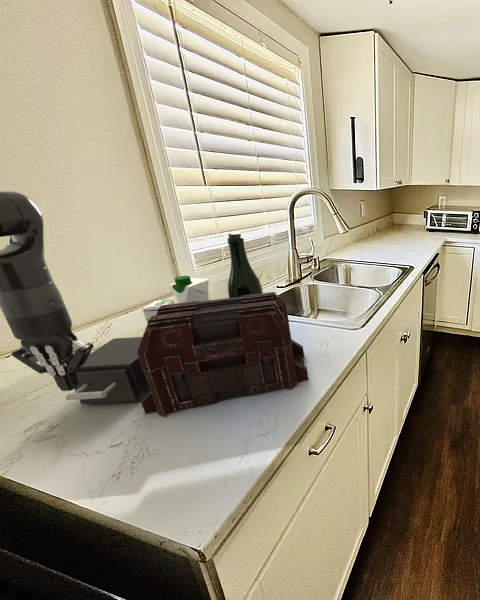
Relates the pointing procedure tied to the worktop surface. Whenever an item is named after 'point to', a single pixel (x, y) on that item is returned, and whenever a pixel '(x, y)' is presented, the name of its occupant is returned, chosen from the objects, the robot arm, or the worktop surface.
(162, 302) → the syrup box
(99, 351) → the dark grey box shell
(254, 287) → the beer bottle
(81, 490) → the worktop surface
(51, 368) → the robot arm
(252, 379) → the crate
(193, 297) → the milk carton
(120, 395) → the drawer
